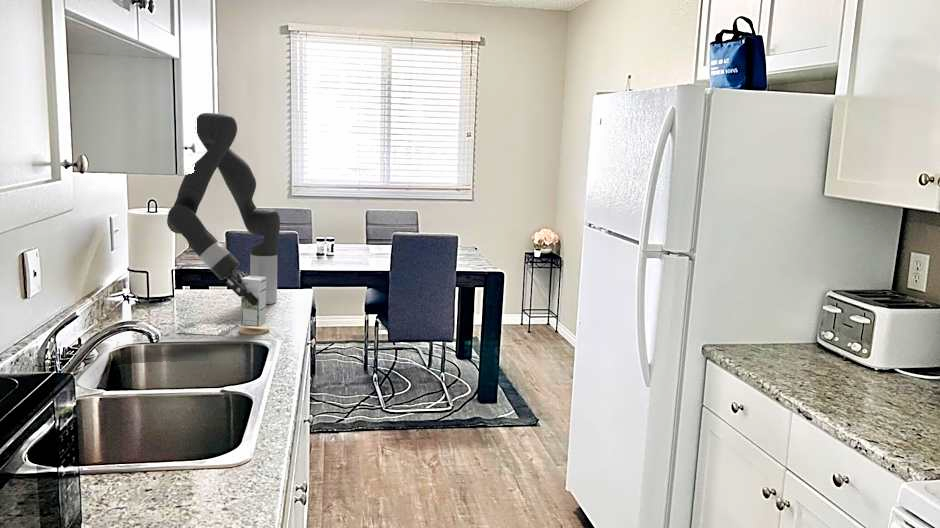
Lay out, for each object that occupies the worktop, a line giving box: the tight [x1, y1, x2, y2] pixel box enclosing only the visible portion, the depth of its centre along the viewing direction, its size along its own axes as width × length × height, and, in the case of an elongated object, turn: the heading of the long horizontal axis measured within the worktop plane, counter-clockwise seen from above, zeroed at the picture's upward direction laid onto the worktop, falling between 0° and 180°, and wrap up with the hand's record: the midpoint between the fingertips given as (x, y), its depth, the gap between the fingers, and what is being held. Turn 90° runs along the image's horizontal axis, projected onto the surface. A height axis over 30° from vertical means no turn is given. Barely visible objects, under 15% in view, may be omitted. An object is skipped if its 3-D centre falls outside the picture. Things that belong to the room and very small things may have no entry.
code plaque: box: [185, 322, 235, 337], centre depth 221 cm, size 14×14×1 cm
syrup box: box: [240, 275, 267, 327], centre depth 220 cm, size 6×6×14 cm
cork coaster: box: [237, 325, 270, 336], centre depth 221 cm, size 9×9×1 cm
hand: (259, 301), depth 220 cm, fingers closed on syrup box, 6 cm apart
